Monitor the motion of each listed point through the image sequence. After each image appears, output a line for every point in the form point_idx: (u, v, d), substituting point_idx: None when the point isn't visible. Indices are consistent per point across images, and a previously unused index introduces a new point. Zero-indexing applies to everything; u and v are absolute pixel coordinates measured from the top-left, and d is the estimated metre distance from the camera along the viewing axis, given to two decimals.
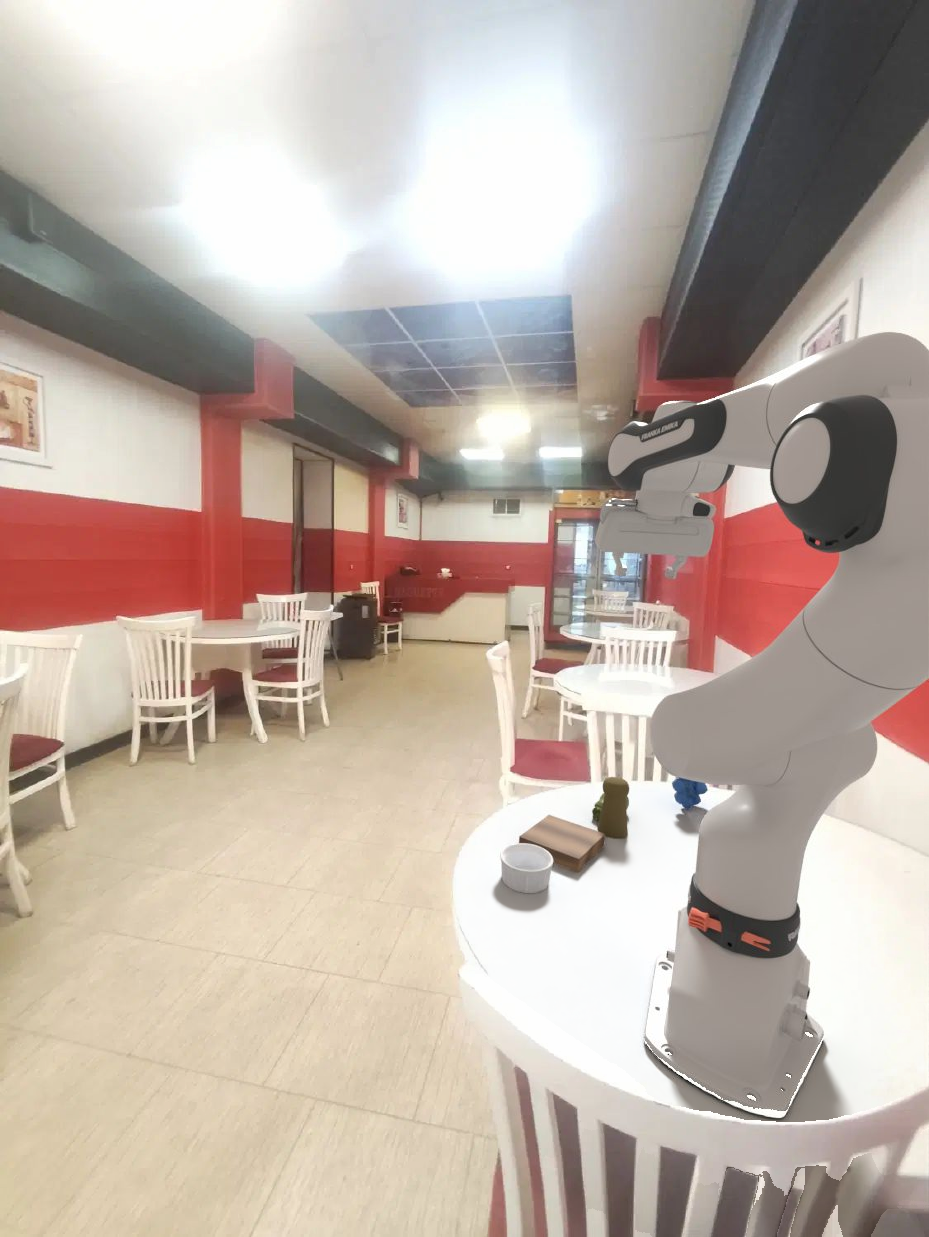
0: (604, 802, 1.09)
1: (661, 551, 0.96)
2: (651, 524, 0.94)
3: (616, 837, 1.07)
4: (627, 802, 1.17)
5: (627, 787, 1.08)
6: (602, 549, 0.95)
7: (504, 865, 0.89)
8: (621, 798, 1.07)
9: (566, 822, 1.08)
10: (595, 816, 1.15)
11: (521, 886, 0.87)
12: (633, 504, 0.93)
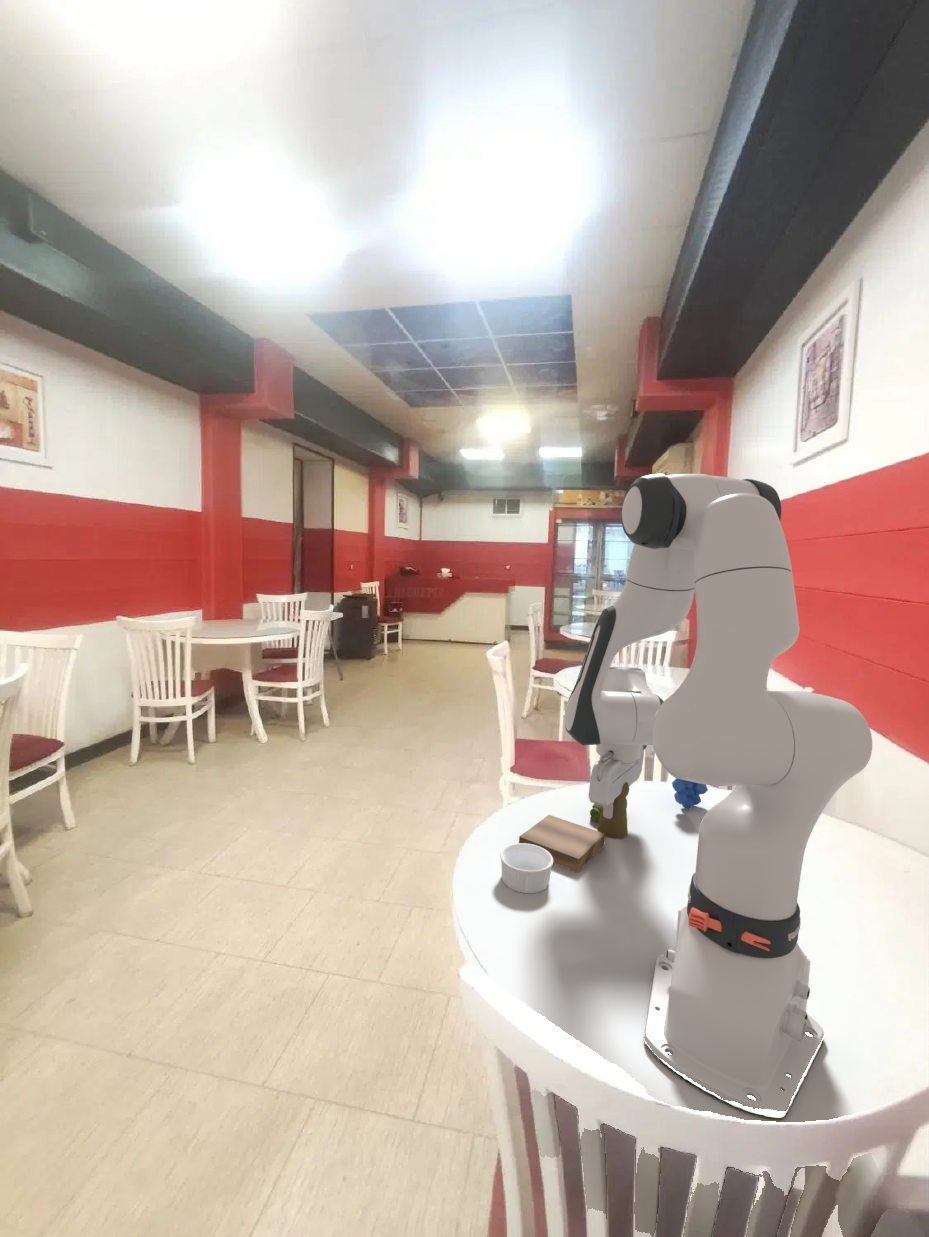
0: None
1: None
2: (622, 767, 1.07)
3: (616, 837, 1.07)
4: None
5: (627, 787, 1.08)
6: (605, 804, 1.01)
7: (504, 865, 0.89)
8: (621, 798, 1.07)
9: (566, 822, 1.08)
10: (593, 817, 1.15)
11: (521, 886, 0.87)
12: (612, 756, 1.04)
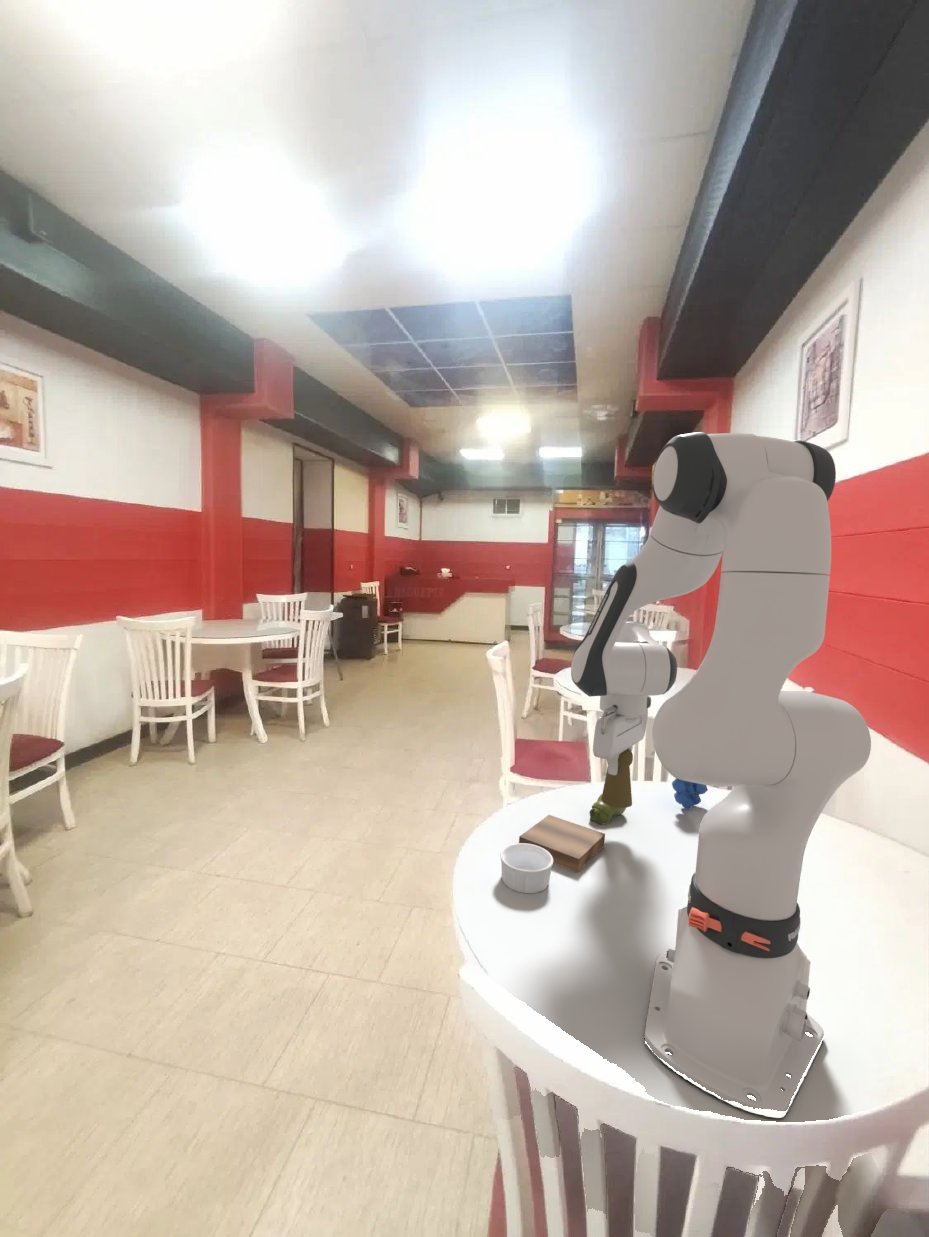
0: (607, 771, 1.08)
1: (631, 744, 1.08)
2: (626, 723, 1.06)
3: (619, 806, 1.06)
4: None
5: (630, 756, 1.06)
6: (610, 758, 1.00)
7: (504, 865, 0.89)
8: (624, 766, 1.06)
9: (566, 822, 1.08)
10: (592, 817, 1.15)
11: (521, 886, 0.87)
12: (616, 710, 1.03)
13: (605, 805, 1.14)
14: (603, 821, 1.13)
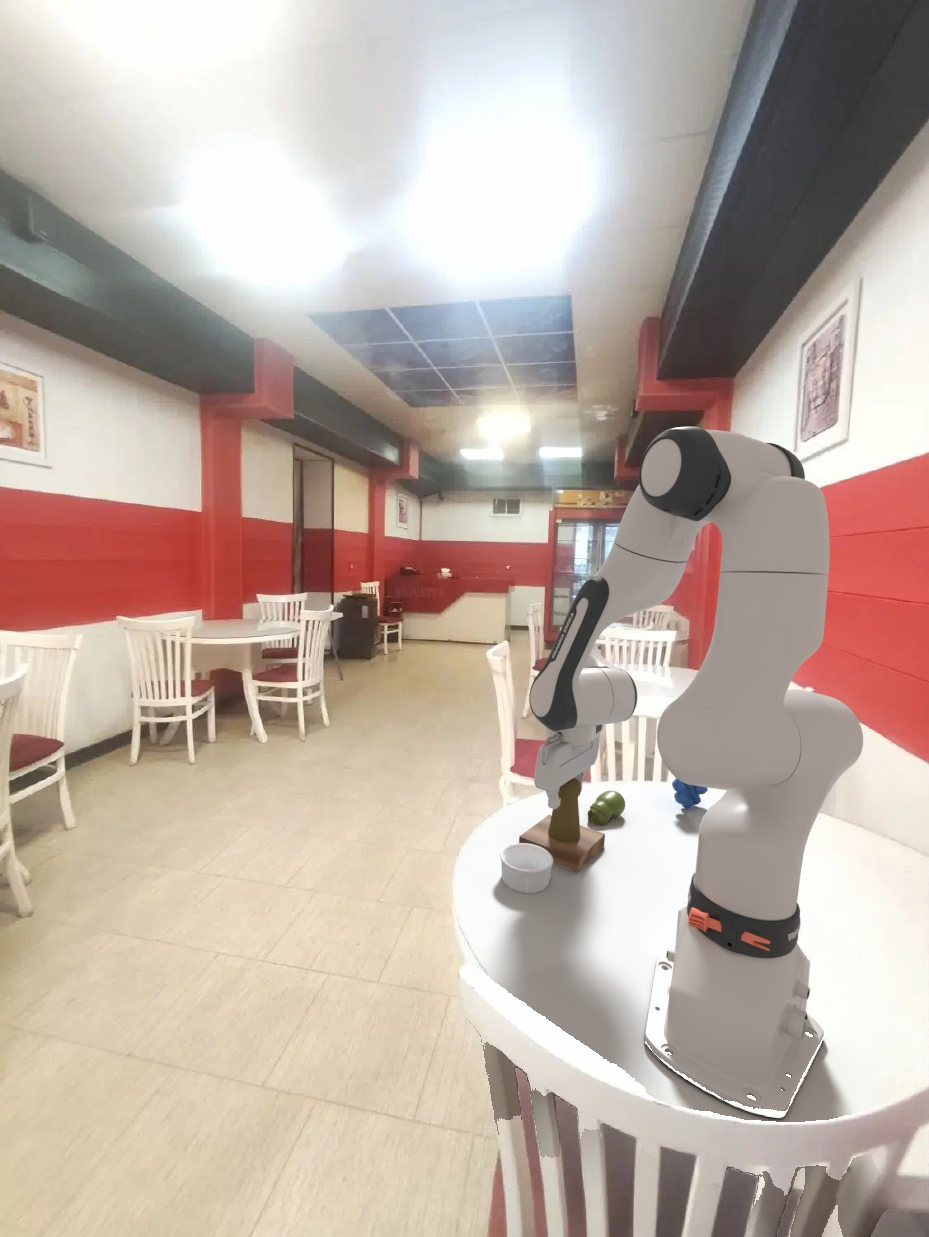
0: None
1: (578, 772, 1.01)
2: (573, 751, 0.99)
3: (566, 840, 1.00)
4: (623, 804, 1.16)
5: (578, 787, 1.00)
6: (551, 790, 0.93)
7: (504, 865, 0.89)
8: (571, 799, 1.00)
9: None
10: (590, 818, 1.14)
11: (521, 886, 0.87)
12: (560, 737, 0.96)
13: (603, 806, 1.14)
14: (601, 822, 1.13)
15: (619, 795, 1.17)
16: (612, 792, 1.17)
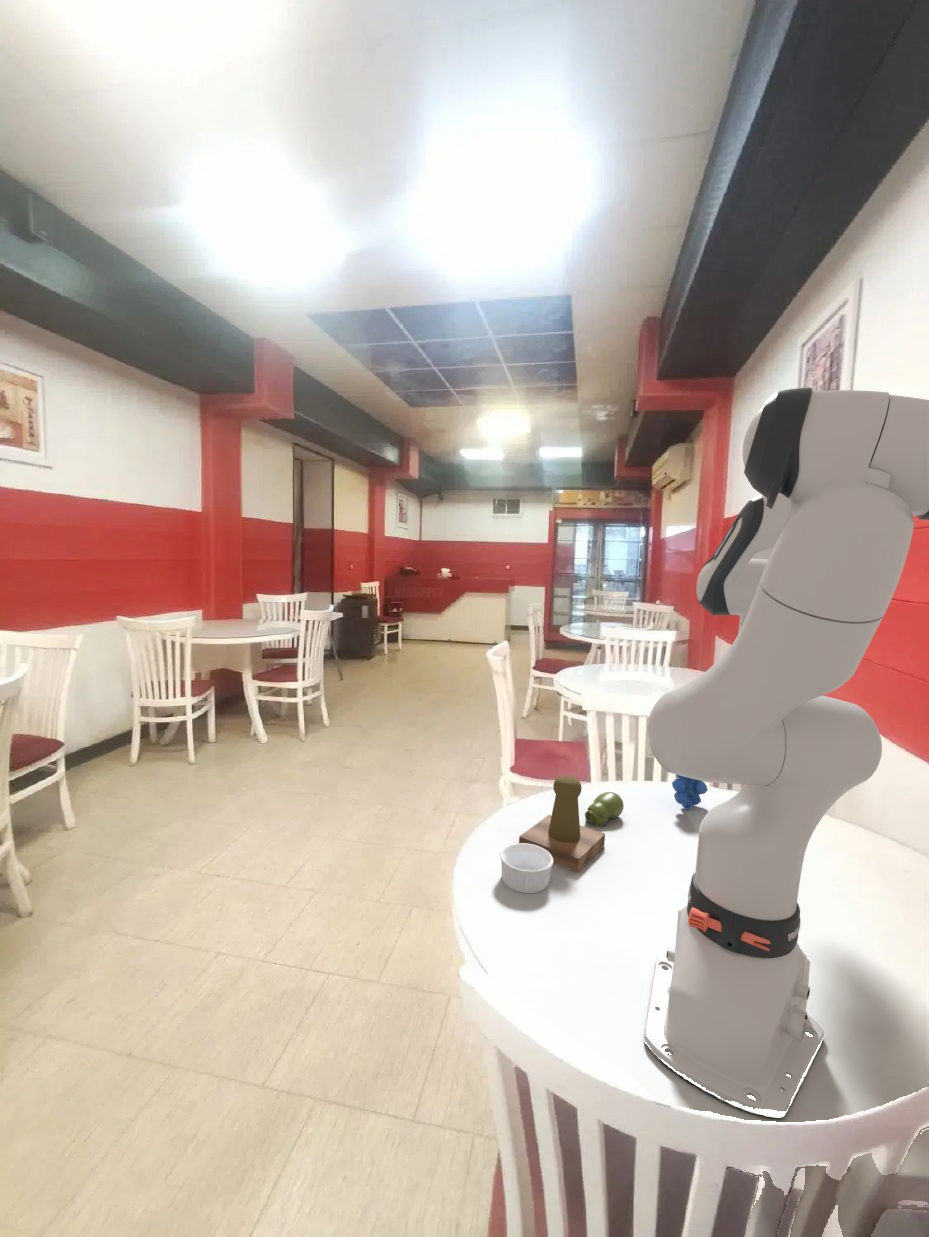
0: (555, 803, 1.02)
1: None
2: None
3: (566, 840, 1.00)
4: (621, 806, 1.15)
5: (578, 787, 1.00)
6: None
7: (504, 865, 0.89)
8: (571, 799, 1.00)
9: None
10: (588, 820, 1.13)
11: (521, 886, 0.87)
12: None
13: (601, 807, 1.13)
14: (598, 824, 1.12)
15: (617, 796, 1.16)
16: (610, 793, 1.16)
